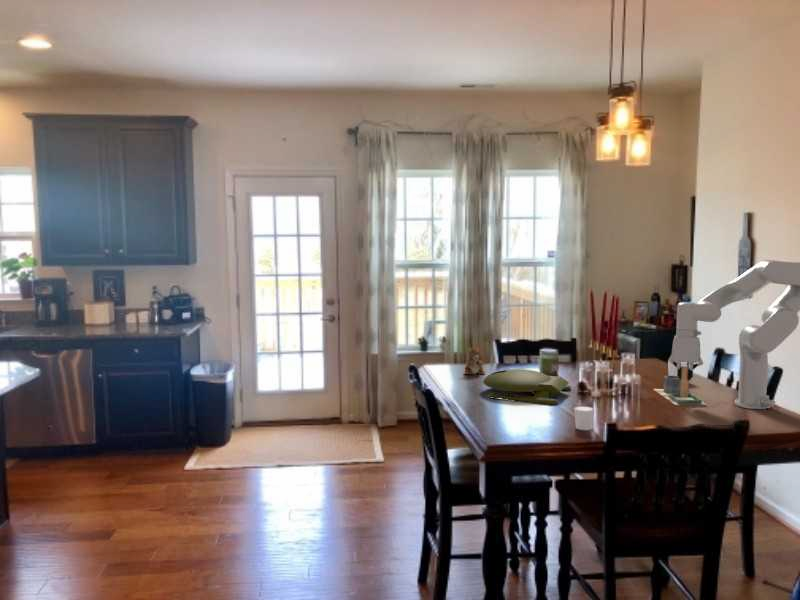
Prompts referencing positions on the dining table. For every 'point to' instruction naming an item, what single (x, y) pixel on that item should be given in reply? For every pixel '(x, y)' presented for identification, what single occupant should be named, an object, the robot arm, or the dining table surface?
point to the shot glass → (584, 417)
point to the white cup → (674, 368)
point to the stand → (677, 393)
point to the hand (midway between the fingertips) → (684, 378)
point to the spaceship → (526, 385)
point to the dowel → (684, 381)
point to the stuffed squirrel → (474, 362)
